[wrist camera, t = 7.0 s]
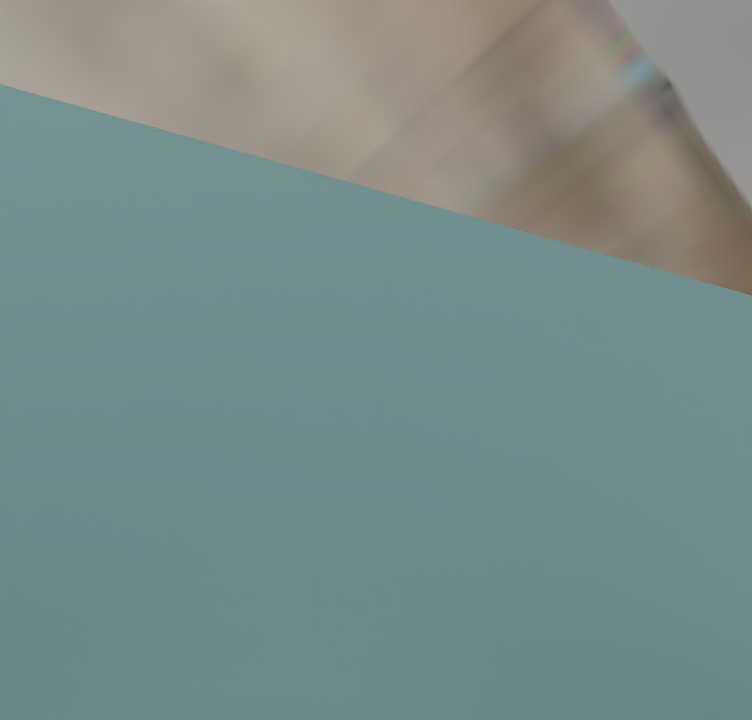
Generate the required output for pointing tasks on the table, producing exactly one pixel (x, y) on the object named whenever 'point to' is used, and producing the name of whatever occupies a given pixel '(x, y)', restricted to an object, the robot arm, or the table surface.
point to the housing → (350, 451)
